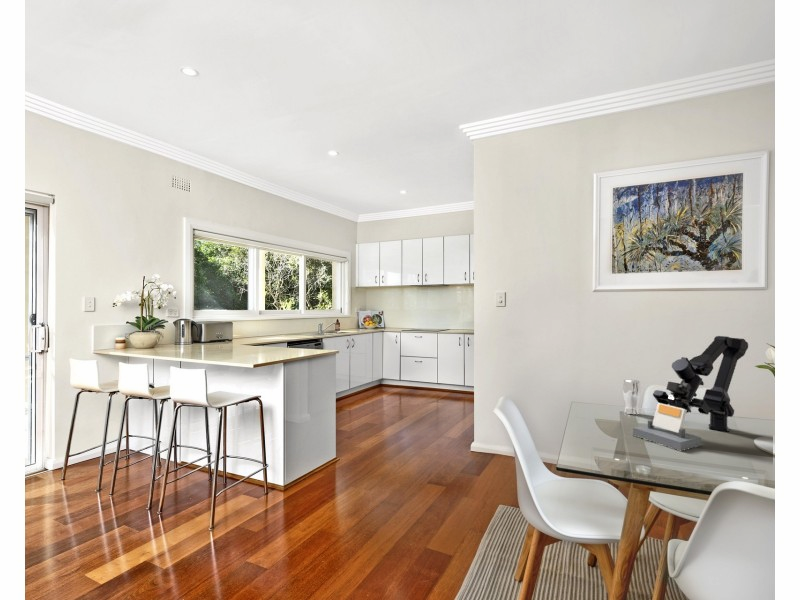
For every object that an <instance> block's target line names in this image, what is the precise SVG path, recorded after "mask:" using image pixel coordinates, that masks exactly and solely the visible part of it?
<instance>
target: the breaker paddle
mask: <svg viewBox="0 0 800 600" xmlns="http://www.w3.org/2000/svg"><path fill="white" fill-rule="evenodd" d="M686 412H687V410H686V409H683V408H678V407H674V406H670V405H669V404H668V405H666V404H662V403H659V402H658V403H657V405H656V407H655V413H654V415H653V419H652V420H653V423H652V425H653V426H655V427H659V428H662V429H666V430H669V431H673V432H676V433H679V429H684V428H683V427H684V423H685V419H686V414H687V413H686Z"/></svg>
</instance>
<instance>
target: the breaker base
mask: <svg viewBox="0 0 800 600" xmlns="http://www.w3.org/2000/svg"><path fill="white" fill-rule="evenodd" d="M652 423H653V419H650V420H647V424H645V425H640V426H639V425H638V426H634V427H632V436H633V435H636V436H639V437H642V438H645V439H648V440H651V441H654V442H657V443H660V444H663V445H666V446H669V447H672V448H675V449H678V450H684V449H688V448H692V449H694V448H693V447H695V448H698V446H699V447H701V446H702V437H701V436H697V435H695V434H691V433H687V432H686V429H685V428H682V429H679V433H676V432H673V431H669V430H666V429H662V428H659V427H655V426H653V425H652ZM672 448H671V449H672ZM675 449H674V450H675ZM678 450H677V451H678ZM688 450H689V449H688ZM684 451H685V450H684Z"/></svg>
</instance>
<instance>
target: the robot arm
mask: <svg viewBox="0 0 800 600" xmlns="http://www.w3.org/2000/svg"><path fill="white" fill-rule="evenodd" d="M748 349H749V343H748V341H746V339H745V338H738V337H729V336H726V335H724V336H723V335H716V336H715V337H714V338H713V341H711V342H710V344H709V345H708V347H707V348H705V349H704V351H703V352H702V353H701V354H700V355H696V356H693V357H692V358H691V359H689V358H688V357H683V356H682V357H681V358H680V359H677V360H675V361H672V363H671V368H672V370H673V371H674V372H675V374H676V375H677V376H678V378H679V379H680V380H681V382H680V383H678V382H676V381H675V382H674V381H667V386H666V390H667V391H670V394H671V395H669V394H668V393H667V392H666V391H663V390H657V389H655V390H654V392H653V393H652V396H653V397H654V400H656V401H657V402H658V403H662V404H666V405H670V406H674V407H678V408H683V409H686V410H687V412H686V414H688V413H692V409H693V407H694V408H698V409H697V411H698V412H699V414H703V415H706V416H708V415H709V423H708V429H709V430H712V431H713V430H715V431H722V432H730V429H729V426H728V417H734V415H735V409H734V408H733V406H732V405H731V404H730V403H731V398H730V395H729V392H728V391H729V389H730V385H731V384H732V383H731V381H732V379H733V376H734V373H735V369H736V366H737V363H738V361H739V360H740V359H741V358H743V357H744V356H746V355H745V354H746V352H747V350H748ZM721 355H722V358H721V362H720V365H719V368H718V371H717V375H716V378H715V381H714V382H713V383H714V384H713V387H712V388H707V389H706V390H705V392H704V395H703V397H702V399H701V398H696V397H697V395H698V394H697V393H696V392H697V390H698V389H699V387H700V386H704V385H705V382H704V380H703V378H701V377H702V376H703V377H708V376H710V374H711V373H712V372H713V370H714V365H713V364H714V363H715V361H716V360H717V359H718V358H719V357H720V356H721ZM700 376H701V377H700Z"/></svg>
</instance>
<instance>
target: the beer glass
mask: <svg viewBox="0 0 800 600" xmlns="http://www.w3.org/2000/svg"><path fill="white" fill-rule="evenodd" d="M622 384H623V385H622V391H623V392H622V393H623V394H622V395H623V399H624V400H623V401H624V410H623V413H624V412H627V413H634V414H638V413H639V414H640V411H639V401H640V397H641V381H639V380H636V379H623V383H622Z"/></svg>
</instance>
